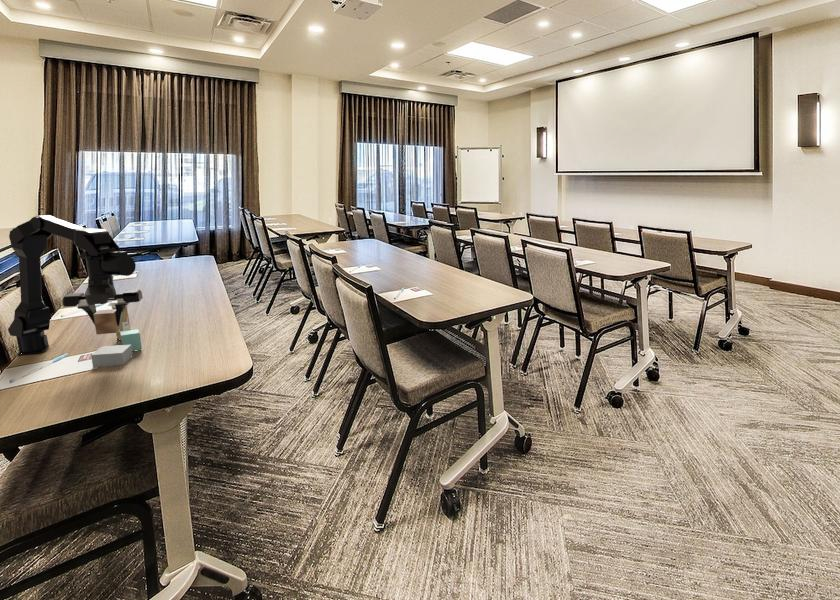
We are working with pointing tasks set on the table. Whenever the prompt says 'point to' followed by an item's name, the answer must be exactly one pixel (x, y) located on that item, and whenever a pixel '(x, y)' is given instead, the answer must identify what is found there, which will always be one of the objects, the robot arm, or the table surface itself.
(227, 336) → the table surface
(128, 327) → the sprinkles bottle
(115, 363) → the grey slab
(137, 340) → the teal block
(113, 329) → the walnut block
